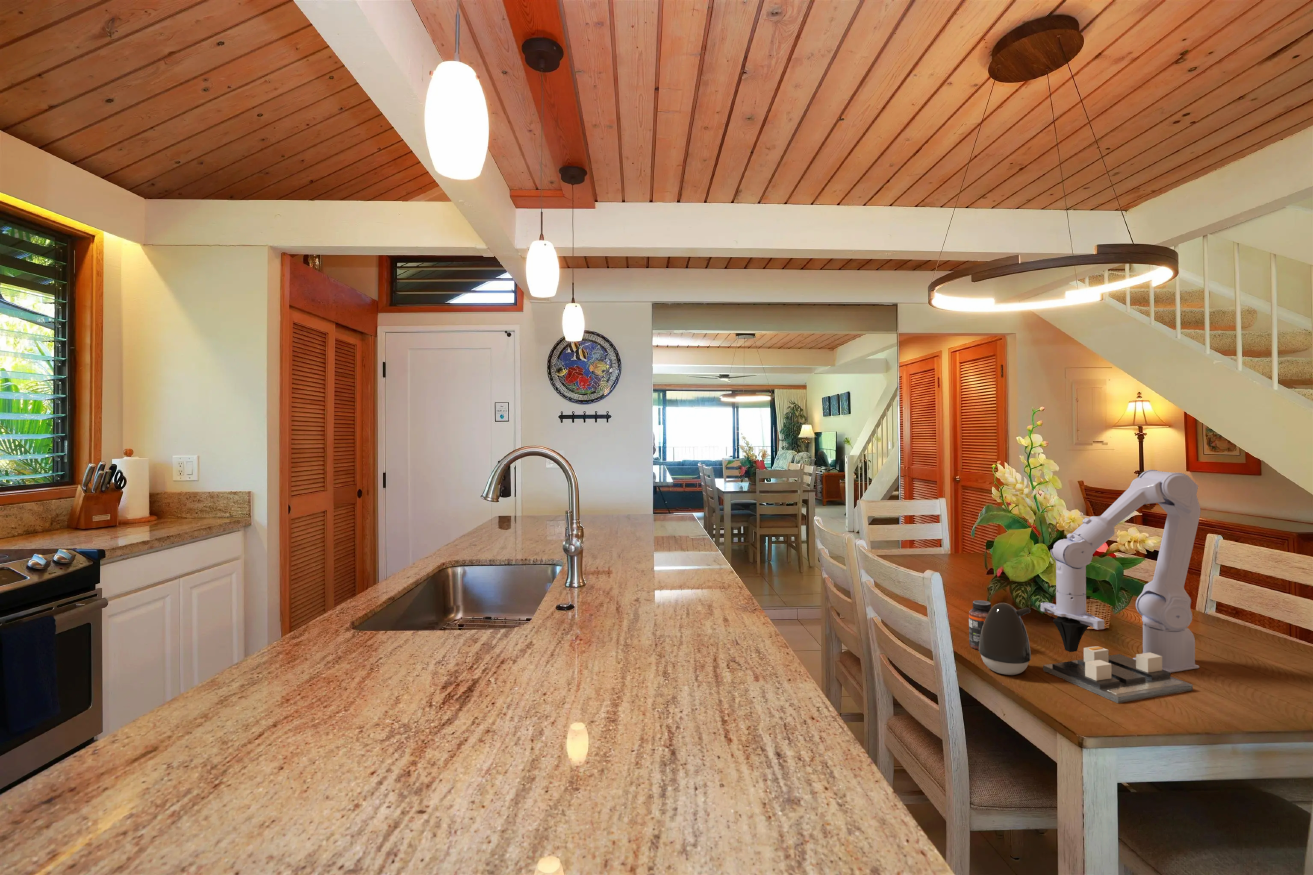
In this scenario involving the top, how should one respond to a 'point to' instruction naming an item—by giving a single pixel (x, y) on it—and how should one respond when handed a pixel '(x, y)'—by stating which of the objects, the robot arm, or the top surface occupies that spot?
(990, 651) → the pump dispenser
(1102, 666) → the block
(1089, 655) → the breaker middle
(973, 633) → the supplement bottle
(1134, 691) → the breaker panel
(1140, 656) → the block
